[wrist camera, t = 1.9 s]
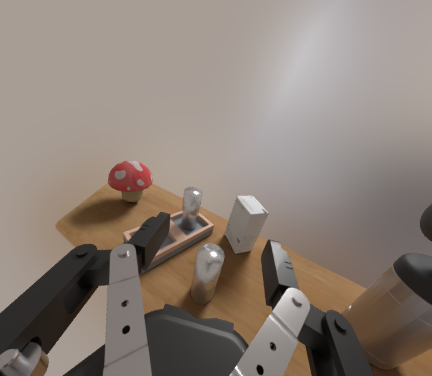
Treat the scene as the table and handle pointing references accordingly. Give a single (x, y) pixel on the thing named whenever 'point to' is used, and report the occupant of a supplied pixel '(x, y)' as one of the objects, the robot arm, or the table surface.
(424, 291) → the robot arm
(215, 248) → the cylinder
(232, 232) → the skincare box
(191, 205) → the seated billet
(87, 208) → the table surface
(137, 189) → the decorative mushroom
